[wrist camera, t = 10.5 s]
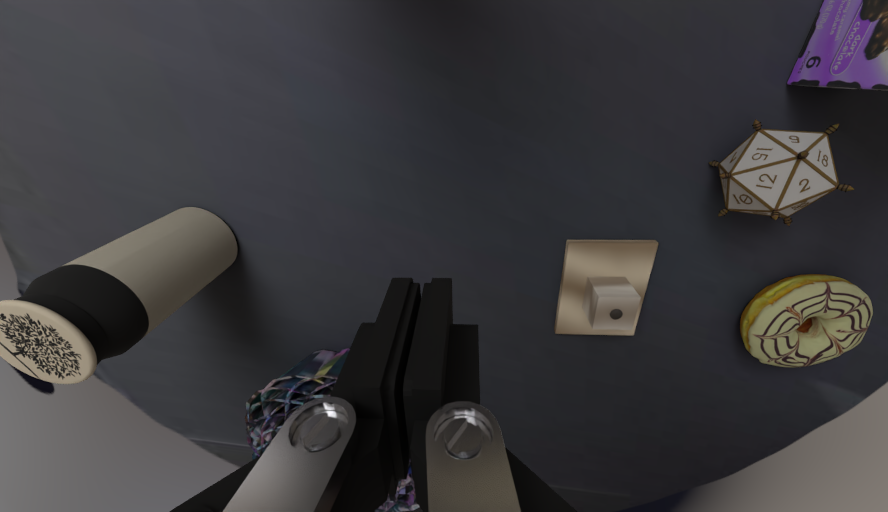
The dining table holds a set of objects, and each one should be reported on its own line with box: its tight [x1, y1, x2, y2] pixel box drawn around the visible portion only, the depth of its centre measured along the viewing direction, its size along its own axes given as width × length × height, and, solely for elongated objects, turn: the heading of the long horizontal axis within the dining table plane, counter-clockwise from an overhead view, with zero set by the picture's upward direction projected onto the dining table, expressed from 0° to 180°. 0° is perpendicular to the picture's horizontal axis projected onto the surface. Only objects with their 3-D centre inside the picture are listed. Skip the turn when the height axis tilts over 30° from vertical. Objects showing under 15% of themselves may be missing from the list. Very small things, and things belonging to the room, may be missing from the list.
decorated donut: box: [740, 274, 873, 367], centre depth 39 cm, size 11×12×4 cm
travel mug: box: [0, 207, 238, 384], centre depth 33 cm, size 8×8×18 cm
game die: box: [709, 119, 855, 226], centre depth 30 cm, size 9×8×10 cm
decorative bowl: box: [245, 348, 420, 512], centre depth 49 cm, size 26×28×10 cm
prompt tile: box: [554, 240, 659, 335], centre depth 38 cm, size 12×9×5 cm
